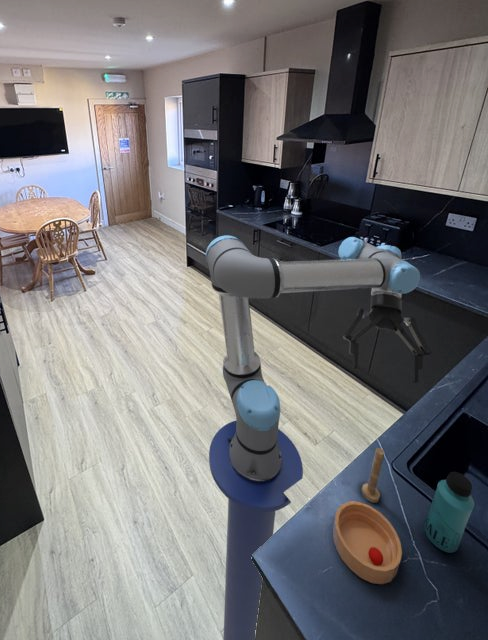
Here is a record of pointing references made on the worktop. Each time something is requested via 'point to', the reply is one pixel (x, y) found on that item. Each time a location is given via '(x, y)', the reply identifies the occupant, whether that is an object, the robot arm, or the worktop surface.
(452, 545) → the beverage bottle
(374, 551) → the cherry tomato
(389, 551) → the bowl
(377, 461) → the wooden peg
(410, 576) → the worktop surface
